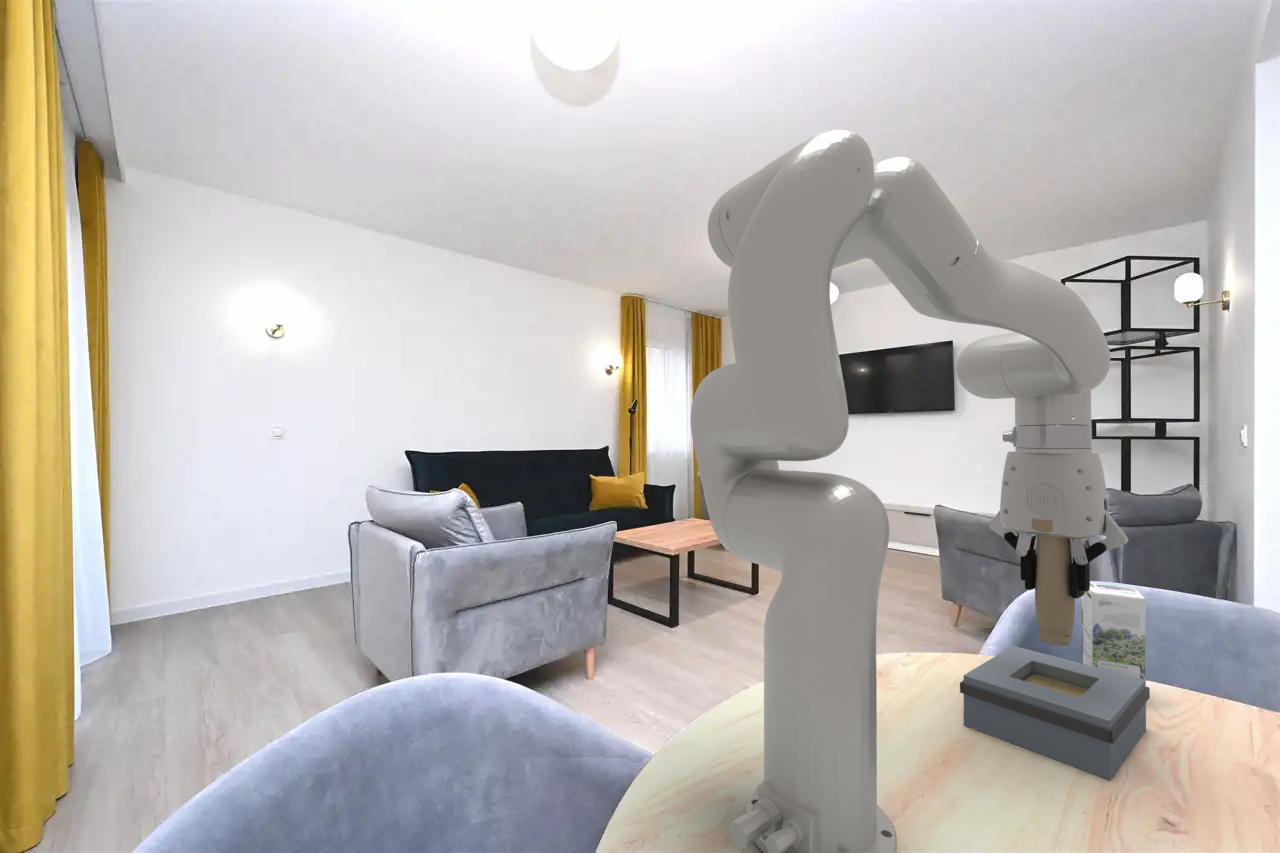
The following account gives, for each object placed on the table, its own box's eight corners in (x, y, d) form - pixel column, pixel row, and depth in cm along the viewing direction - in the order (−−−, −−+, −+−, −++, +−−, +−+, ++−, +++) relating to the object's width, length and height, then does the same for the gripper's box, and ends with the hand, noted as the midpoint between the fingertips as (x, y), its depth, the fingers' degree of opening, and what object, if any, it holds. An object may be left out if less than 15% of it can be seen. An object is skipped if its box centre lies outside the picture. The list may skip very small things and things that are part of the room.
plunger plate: (1077, 718, 64) (1077, 709, 64) (1012, 697, 69) (1012, 689, 69) (1095, 699, 68) (1095, 691, 68) (1033, 681, 73) (1033, 673, 73)
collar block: (1113, 782, 57) (1112, 723, 58) (960, 724, 69) (959, 675, 69) (1149, 730, 68) (1149, 679, 68) (1011, 687, 79) (1011, 644, 79)
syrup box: (1132, 690, 79) (1131, 585, 79) (1147, 708, 73) (1146, 595, 74) (1081, 681, 81) (1080, 580, 81) (1092, 698, 76) (1091, 590, 76)
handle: (1095, 646, 67) (1093, 519, 67) (1054, 652, 65) (1052, 522, 66) (1055, 632, 72) (1054, 514, 72) (1016, 637, 70) (1014, 516, 70)
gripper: (965, 440, 73) (967, 583, 73) (1134, 441, 60) (1137, 615, 60) (988, 440, 78) (990, 573, 78) (1150, 440, 65) (1152, 601, 65)
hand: (1054, 590), depth 69 cm, fingers closed on handle, 3 cm apart
